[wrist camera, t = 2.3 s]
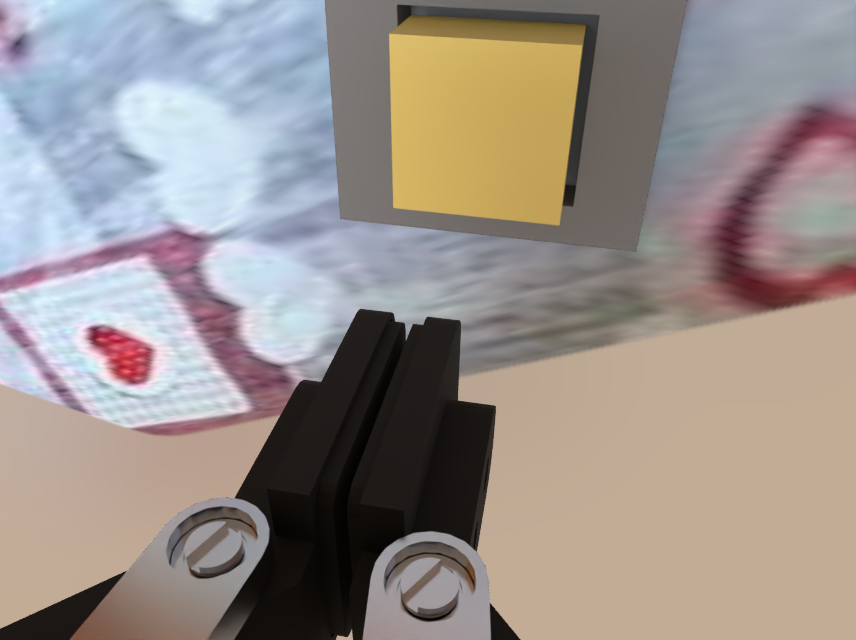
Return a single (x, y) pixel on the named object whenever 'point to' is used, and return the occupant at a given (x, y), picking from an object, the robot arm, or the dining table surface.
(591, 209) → the button board
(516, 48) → the mustard button
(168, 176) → the dining table surface
